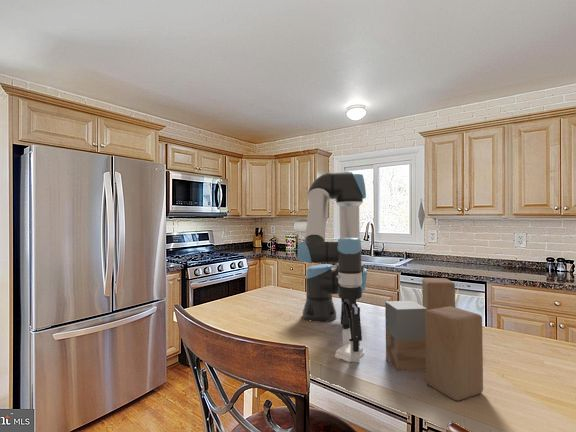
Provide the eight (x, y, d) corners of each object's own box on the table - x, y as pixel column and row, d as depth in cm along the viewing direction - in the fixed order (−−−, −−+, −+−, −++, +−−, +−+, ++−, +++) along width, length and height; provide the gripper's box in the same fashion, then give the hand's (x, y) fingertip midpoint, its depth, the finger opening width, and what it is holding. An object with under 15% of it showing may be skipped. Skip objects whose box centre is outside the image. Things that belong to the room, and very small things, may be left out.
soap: (351, 364, 100) (351, 354, 100) (333, 357, 105) (333, 348, 105) (366, 354, 106) (366, 346, 106) (348, 349, 111) (348, 340, 111)
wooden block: (456, 336, 121) (455, 282, 121) (427, 335, 123) (427, 282, 123) (448, 327, 130) (448, 278, 131) (422, 326, 132) (421, 277, 133)
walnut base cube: (385, 358, 103) (385, 329, 103) (413, 357, 104) (413, 328, 104) (397, 371, 94) (397, 340, 94) (427, 370, 95) (427, 339, 95)
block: (456, 403, 78) (455, 319, 78) (424, 383, 87) (423, 309, 87) (485, 393, 82) (484, 314, 82) (450, 376, 91) (449, 304, 91)
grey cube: (385, 329, 103) (385, 301, 103) (413, 328, 104) (412, 300, 104) (397, 340, 94) (397, 309, 94) (427, 339, 95) (426, 308, 95)
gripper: (331, 279, 116) (332, 342, 116) (347, 293, 94) (348, 370, 94) (351, 278, 117) (352, 341, 117) (372, 292, 95) (373, 369, 95)
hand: (350, 354), depth 105 cm, fingers closed on soap, 9 cm apart
